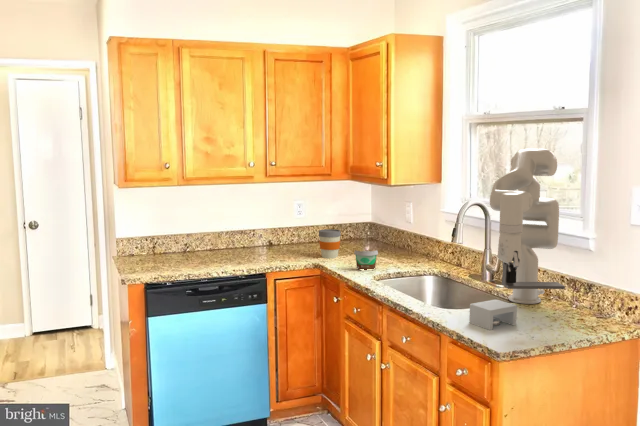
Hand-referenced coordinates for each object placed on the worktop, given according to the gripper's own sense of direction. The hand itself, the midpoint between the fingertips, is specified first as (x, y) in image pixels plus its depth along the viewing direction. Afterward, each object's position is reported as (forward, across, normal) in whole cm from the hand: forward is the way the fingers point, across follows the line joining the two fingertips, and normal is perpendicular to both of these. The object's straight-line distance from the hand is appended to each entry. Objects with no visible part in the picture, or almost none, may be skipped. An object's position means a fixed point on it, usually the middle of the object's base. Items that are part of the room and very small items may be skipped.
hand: (509, 281), depth 216 cm
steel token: (+17, -7, -3) cm, 19 cm away
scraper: (+2, 0, +8) cm, 9 cm away
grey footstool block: (+17, -7, -3) cm, 19 cm away
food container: (+18, -103, -35) cm, 110 cm away
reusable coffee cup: (+19, -140, -50) cm, 150 cm away
